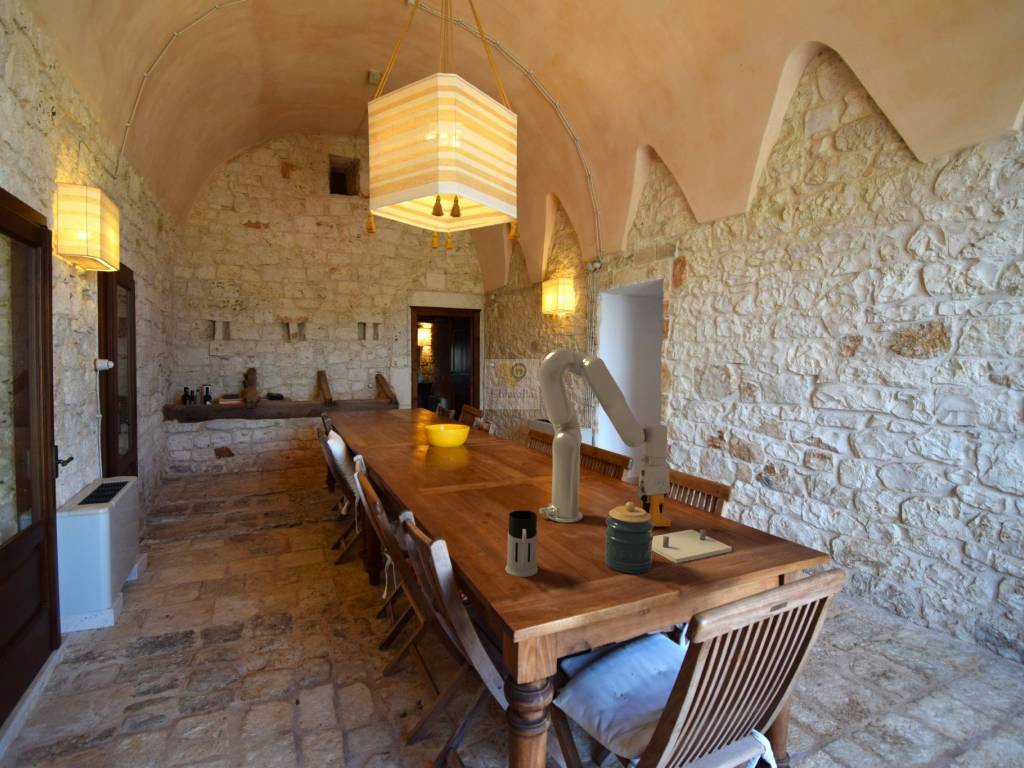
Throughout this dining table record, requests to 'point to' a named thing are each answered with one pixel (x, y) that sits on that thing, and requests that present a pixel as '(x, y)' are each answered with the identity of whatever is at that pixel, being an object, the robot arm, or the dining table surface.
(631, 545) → the canister
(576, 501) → the robot arm
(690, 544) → the locating board
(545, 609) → the dining table surface
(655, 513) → the bracket
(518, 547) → the glass holder
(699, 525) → the dining table surface
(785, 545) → the dining table surface
